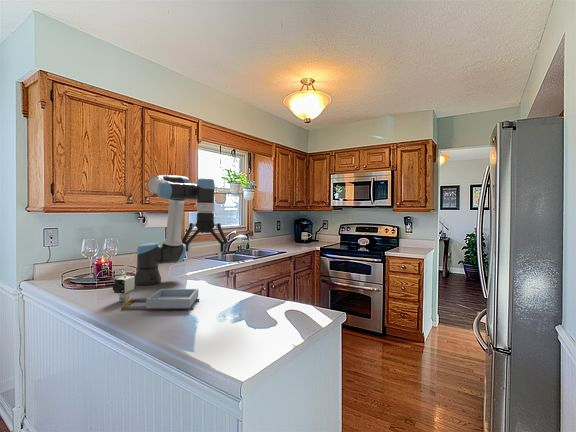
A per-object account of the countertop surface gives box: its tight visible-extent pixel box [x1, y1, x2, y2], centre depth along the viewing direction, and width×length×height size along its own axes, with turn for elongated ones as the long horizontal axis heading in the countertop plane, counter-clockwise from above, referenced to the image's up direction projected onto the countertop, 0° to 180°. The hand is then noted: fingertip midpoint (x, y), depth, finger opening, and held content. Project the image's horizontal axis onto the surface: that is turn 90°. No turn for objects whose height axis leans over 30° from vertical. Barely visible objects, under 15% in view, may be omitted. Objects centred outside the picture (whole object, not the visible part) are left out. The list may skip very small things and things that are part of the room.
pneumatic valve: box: [112, 274, 137, 303], centre depth 146 cm, size 6×12×12 cm, turn 174°
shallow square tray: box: [145, 288, 199, 308], centre depth 141 cm, size 18×18×4 cm
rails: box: [120, 297, 200, 311], centre depth 140 cm, size 14×31×2 cm, turn 95°
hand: (204, 259), depth 141 cm, fingers open, 13 cm apart
